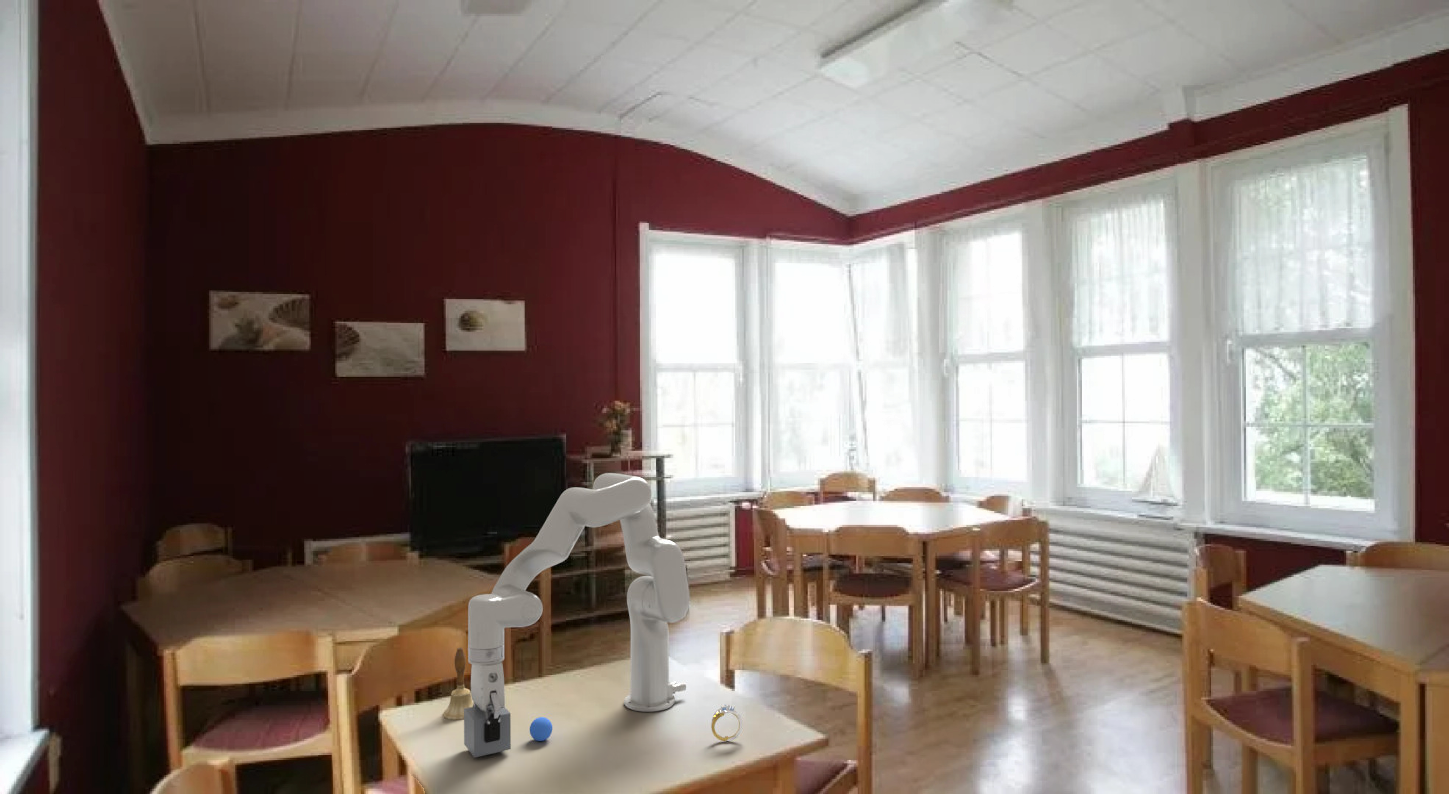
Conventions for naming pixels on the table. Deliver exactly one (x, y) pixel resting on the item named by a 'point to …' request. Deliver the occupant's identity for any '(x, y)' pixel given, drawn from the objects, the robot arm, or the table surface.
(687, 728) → the table surface
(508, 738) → the grey cube
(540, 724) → the ball
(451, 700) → the hand bell
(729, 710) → the ring
